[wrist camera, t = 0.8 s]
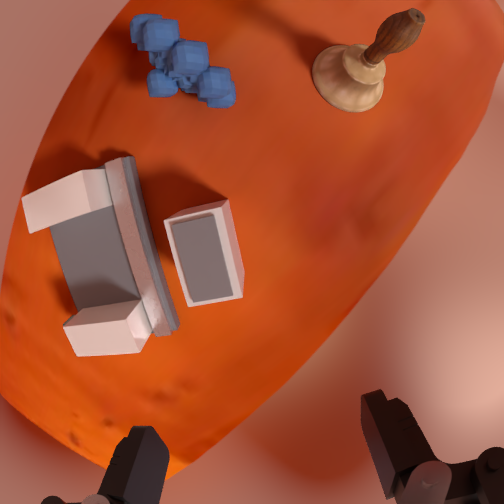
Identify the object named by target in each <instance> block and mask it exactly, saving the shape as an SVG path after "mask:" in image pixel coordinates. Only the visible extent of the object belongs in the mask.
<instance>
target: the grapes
mask: <svg viewBox="0 0 504 504" xmlns="http://www.w3.org/2000/svg"><path fill="white" fill-rule="evenodd" d="M130 36H131V41H132V43H137V48H138V50H143V51H149V62H150V63H151V64H152V66H155V67H156V69H153V70H151V71H150V72H149V73H148V76H147V87H148V92H149V96H150V97H171V96H173V95H175V94H176V93H177V92H178V87H179V88H181V91H185V93H197V96H198V101H201V102H207V106H208V107H212V108H229V107H230V106H232V105H234V104H235V100H236V91H235V85H234V81H231V75H230V70H229V69H228V68H222V67H216V66H210V65H209V55H208V48H207V44H206V43H205V42H199V41H192V40H187V41H186V39H182V38H180V32H179V27H178V21H177V20H172V19H162V15H158V14H140V15H136V16H134V18H133V19H132V21H131V22H130Z"/></svg>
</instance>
